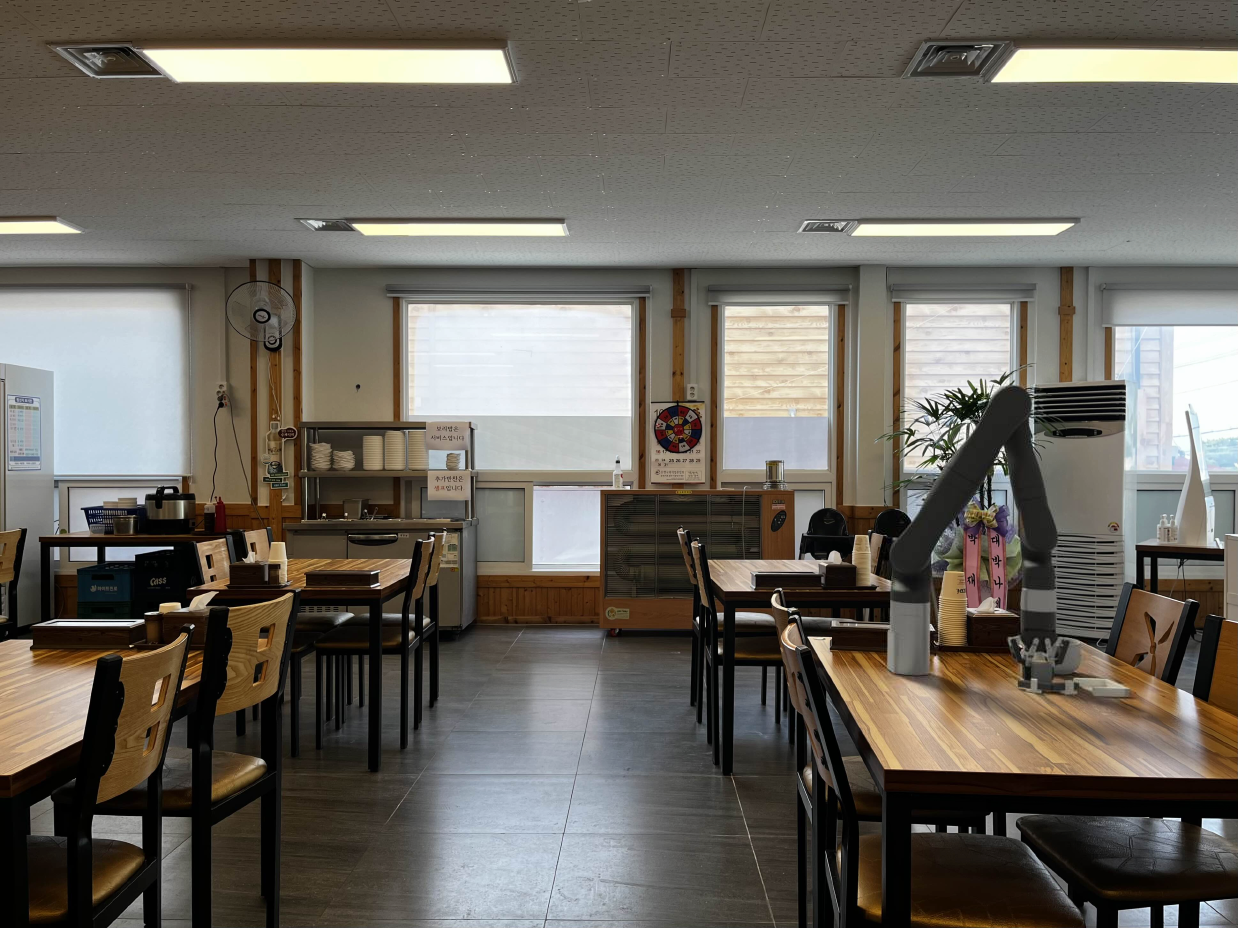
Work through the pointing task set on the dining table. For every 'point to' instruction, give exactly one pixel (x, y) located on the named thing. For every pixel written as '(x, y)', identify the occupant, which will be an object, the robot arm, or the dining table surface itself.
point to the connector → (1041, 671)
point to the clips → (1068, 690)
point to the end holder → (1103, 687)
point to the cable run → (1046, 685)
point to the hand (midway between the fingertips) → (1037, 681)
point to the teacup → (1066, 657)
